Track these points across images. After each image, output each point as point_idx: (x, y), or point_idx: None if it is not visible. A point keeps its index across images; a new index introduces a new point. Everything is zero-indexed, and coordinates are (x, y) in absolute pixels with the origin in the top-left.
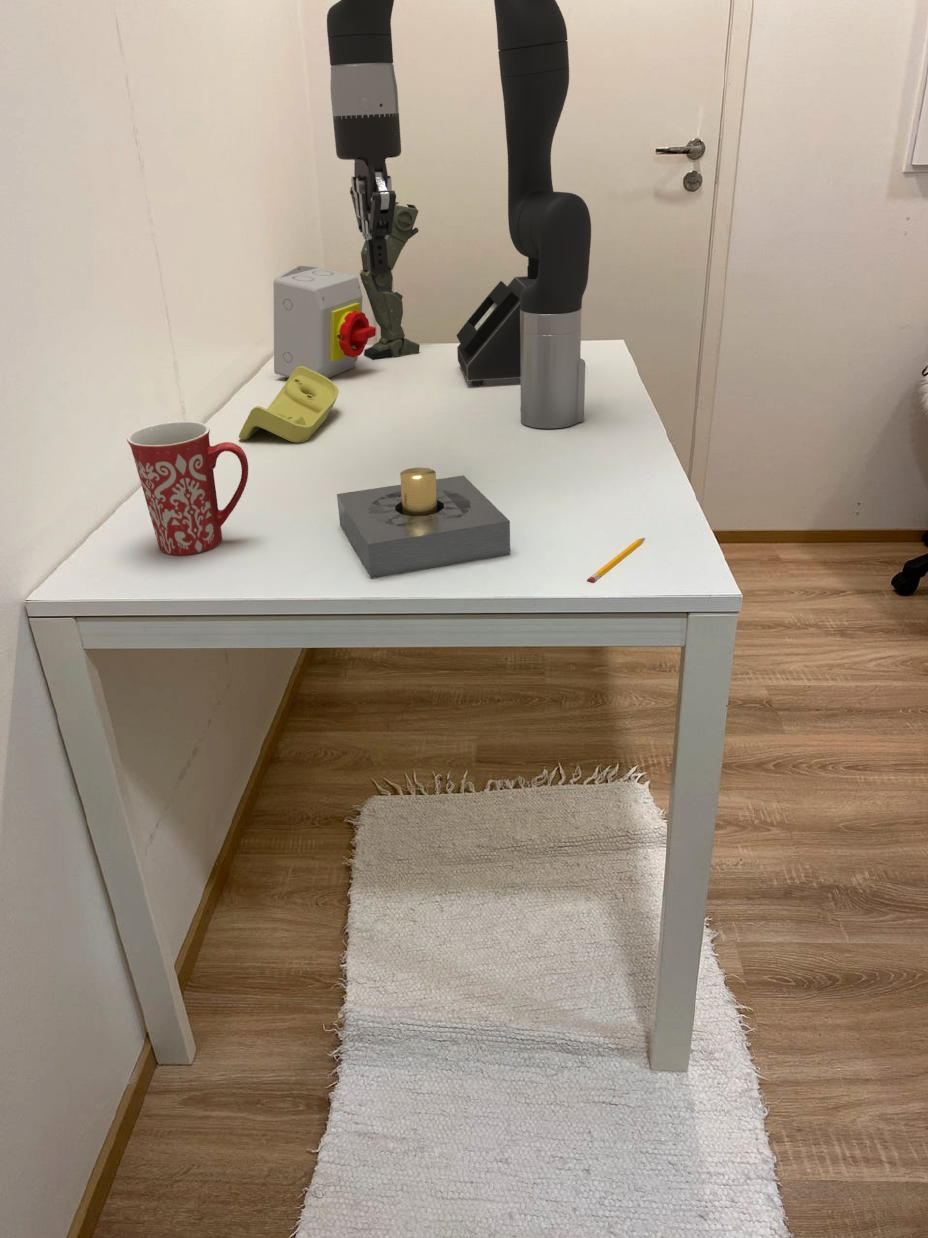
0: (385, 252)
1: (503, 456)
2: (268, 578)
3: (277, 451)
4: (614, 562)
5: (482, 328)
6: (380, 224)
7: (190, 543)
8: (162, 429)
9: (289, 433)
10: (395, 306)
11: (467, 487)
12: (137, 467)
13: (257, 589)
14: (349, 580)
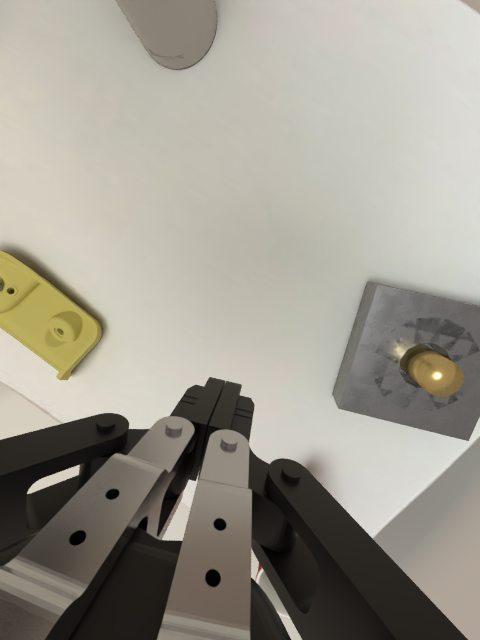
0: (234, 412)
1: (264, 163)
2: (392, 476)
3: (116, 358)
4: None
5: None
6: (178, 467)
7: None
8: (260, 577)
9: (95, 343)
10: None
11: (413, 301)
12: None
13: (404, 488)
14: (439, 435)
